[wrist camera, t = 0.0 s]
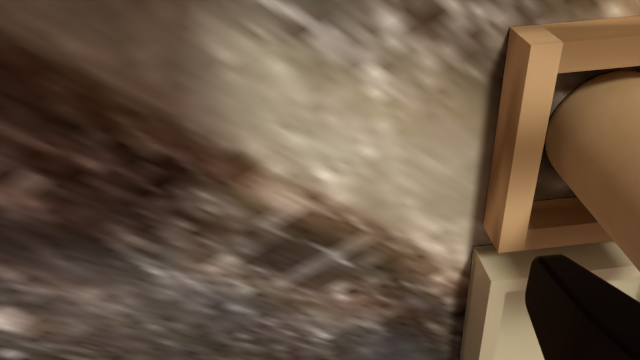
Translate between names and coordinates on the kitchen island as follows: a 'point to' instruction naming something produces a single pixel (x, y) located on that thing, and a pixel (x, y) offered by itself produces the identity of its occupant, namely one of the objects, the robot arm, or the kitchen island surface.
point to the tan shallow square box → (545, 129)
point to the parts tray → (509, 296)
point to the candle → (602, 153)
